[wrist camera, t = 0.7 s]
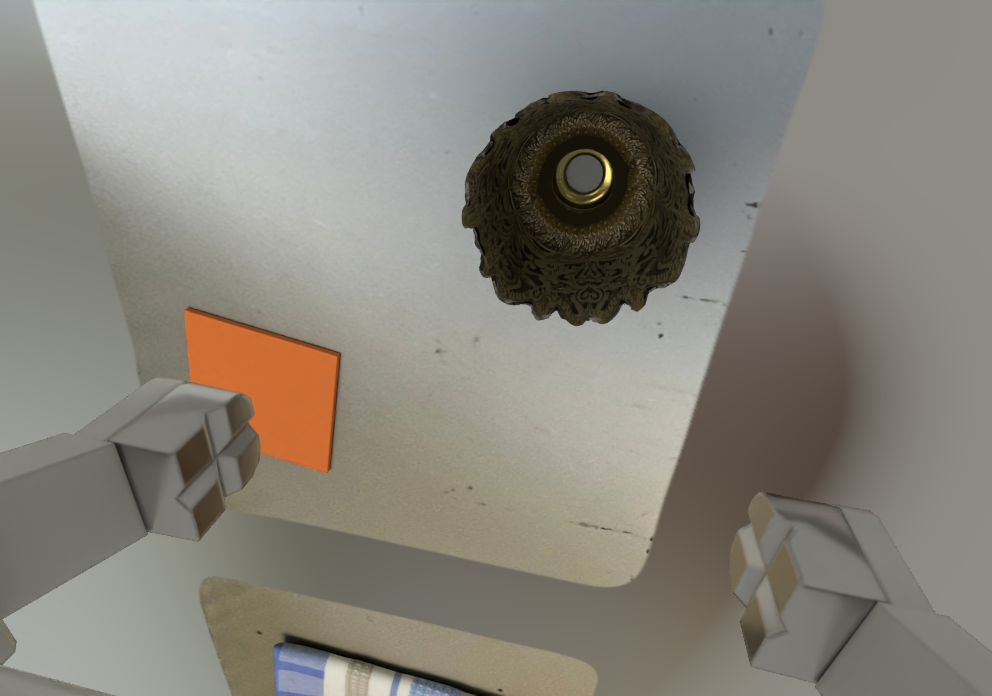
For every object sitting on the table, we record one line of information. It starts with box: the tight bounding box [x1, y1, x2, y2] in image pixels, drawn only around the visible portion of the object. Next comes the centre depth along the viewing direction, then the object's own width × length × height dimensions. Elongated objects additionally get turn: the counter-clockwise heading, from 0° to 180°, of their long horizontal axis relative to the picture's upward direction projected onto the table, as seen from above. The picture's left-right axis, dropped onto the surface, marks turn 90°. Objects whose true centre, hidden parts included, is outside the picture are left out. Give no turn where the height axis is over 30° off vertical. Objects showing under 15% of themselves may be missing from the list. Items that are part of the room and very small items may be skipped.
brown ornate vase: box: [462, 91, 700, 326], centre depth 20 cm, size 8×7×8 cm
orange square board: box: [184, 308, 340, 473], centre depth 33 cm, size 10×10×1 cm
